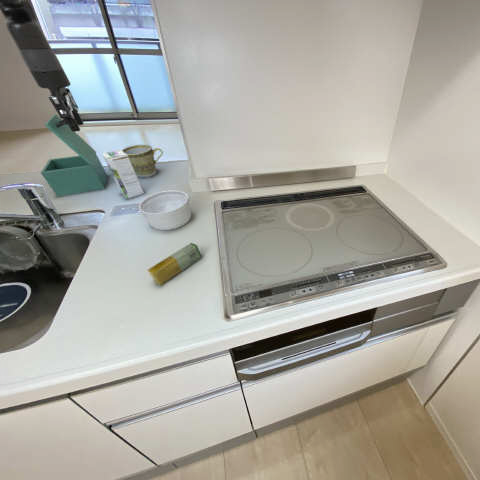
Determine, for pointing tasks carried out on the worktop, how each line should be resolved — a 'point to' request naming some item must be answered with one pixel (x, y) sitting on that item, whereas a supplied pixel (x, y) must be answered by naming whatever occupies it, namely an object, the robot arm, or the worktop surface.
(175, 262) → the medication box
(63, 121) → the teal box lid
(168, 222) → the ramekin
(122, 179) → the syrup box
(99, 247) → the worktop surface
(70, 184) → the teal box
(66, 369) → the worktop surface
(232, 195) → the worktop surface
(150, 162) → the ceramic cup
